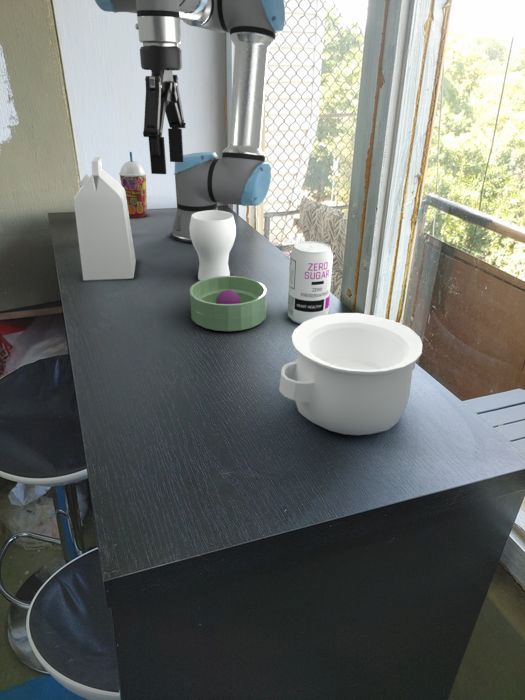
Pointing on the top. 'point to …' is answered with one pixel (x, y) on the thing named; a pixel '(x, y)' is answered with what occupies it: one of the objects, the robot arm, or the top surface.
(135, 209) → the smoothie
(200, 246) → the cup
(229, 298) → the ball
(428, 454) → the top surface
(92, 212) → the milk
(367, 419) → the pot
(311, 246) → the supplement can
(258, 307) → the bowl
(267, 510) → the top surface
